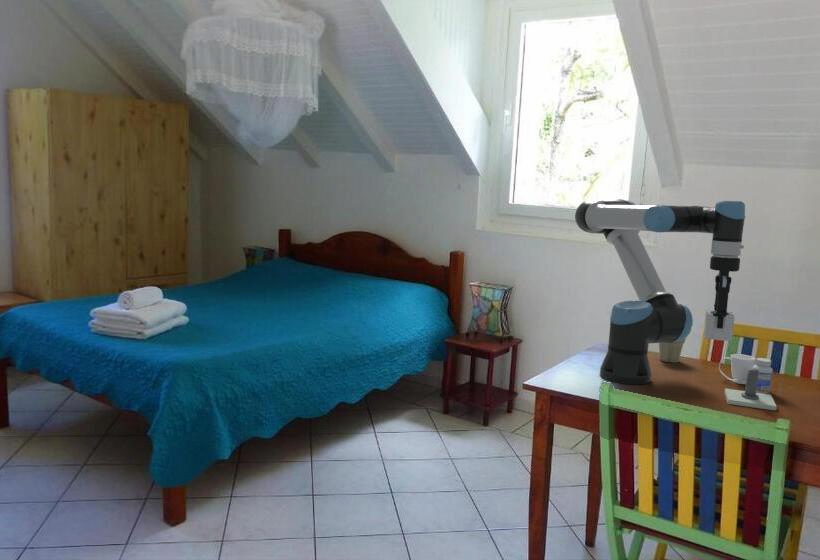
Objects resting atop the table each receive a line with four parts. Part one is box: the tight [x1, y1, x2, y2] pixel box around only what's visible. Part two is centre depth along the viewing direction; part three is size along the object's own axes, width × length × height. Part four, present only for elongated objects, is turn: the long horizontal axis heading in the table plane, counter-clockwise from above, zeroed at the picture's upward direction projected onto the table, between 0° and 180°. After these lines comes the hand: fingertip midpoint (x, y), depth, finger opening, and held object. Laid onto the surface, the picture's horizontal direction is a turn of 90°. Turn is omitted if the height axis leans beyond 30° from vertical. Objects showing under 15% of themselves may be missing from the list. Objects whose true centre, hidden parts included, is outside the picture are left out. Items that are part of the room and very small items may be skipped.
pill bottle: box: [752, 357, 774, 394], centre depth 200 cm, size 5×5×10 cm
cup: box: [718, 353, 757, 385], centre depth 209 cm, size 7×10×8 cm
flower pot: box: [658, 337, 688, 364], centre depth 231 cm, size 9×9×9 cm
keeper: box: [724, 368, 777, 411], centre depth 190 cm, size 12×11×9 cm
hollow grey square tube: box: [703, 310, 735, 342], centre depth 191 cm, size 7×7×7 cm
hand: (717, 336), depth 192 cm, fingers closed on hollow grey square tube, 7 cm apart
